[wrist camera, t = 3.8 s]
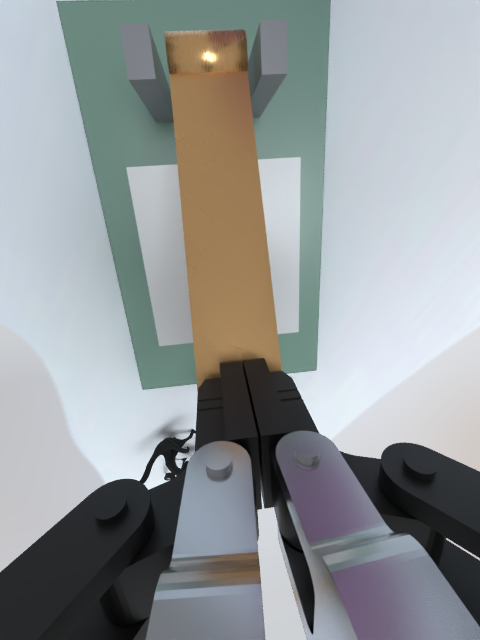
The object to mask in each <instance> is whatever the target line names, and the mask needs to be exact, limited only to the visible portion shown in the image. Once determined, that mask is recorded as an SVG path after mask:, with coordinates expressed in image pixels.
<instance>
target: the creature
mask: <svg viewBox="0 0 480 640" xmlns="http://www.w3.org/2000/svg"><path fill="white" fill-rule="evenodd" d="M193 433H196V431H195V430H192V431H191V433H190V436H189V437H188V438H186V439H184V440H180V439H176V438H175V437H174V438H165V439H164V440H163V441H162V442H160V443H159V444H158V445H157V447H156V449H155V451H154V453H153V455H152V457H151V459H150V461H149V462H148V464H147V466H146V470H145V472H144V475H143V477H142V479H141V480H140V481H139V482H141V483H142V484H144V483H145V481H146V480H147V478H148V477H149V474H150V471H151V468H152V465H153V463H154V461H155V460H156V458H157V457H158V456H159V455H163V456H164V458H165V461H166V466H167V467H168V469H169V470H170V471H171V472H172V473H166V475H165V477H164V479H165V480H172V479H174V478H175V475H176V476H178V475H180V474H181V473H182V472H183V471H184V470H185V469H186V468H187V465H188V462H189V461H186V462H185V460H186V459H187V458H185V459H181V460H183V465H182V468H181V469H180V468H178V467H177V465H176V463H175V457H176V455H177V453H178V452H181V453H187V452H189V448H188V447H187V449H183V448H182V446H183V445H184V444H185V442H186V441H187V440H189V439H191V438H192V436H193ZM178 460H180V459H178ZM184 462H185V463H184ZM167 478H170V479H167Z"/></svg>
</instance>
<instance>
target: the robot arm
mask: <svg viewBox="0 0 480 640" xmlns="http://www.w3.org/2000/svg"><path fill="white" fill-rule="evenodd" d="M220 374H221V378H213V379H205V380H204V381H203V383H202V384H201V386H200V387H199V389H198V400H197V401H198V403H197V421H196V442H195V453H194V454H193V455H192V457H191V458H190V460H189V462H188V465H187V468H186V469H185V470H184V471H183V472H182V473H181V474H180V475H178V476H177V477H175V478H174V479H172V480H170V481H168V482H166V483H164V484H161V485H159V486H157V487H154V488H152V489H150V490H148V489H147V488H146V486H145V485H144V484H142V483H141V482H139V481H137V480H133V479H120V480H115V481H112V482H110V483H107V484H105V485H103V486H101V487H100V488H98V489H97V490H95V491H94V492H93V493H91V494H90V495H89V496H88V497H87V498H86V499H84V500H83V501H82V502H81V503H80V504H79V505H77V507H75V508H74V509H73V510H72V511H71V512H69V513H68V514H67V515H66V516H65V517H64V518H63V519H61V520H60V521H59V522H58V523H57V524H56V525H54V526H53V527H52V528H51V529H50V530H49V531H47V532H46V533H45V534H44V535H43V536H42V537H41V538H39V539H38V540H37V541H36V542H35V543H34V544H32V545H31V546H30V547H29V548H28V549H27V550H26V551H24V552H23V553H22V554H21V555H20V556H19V557H18V558H16V559H15V560H14V561H13V562H12V563H11V564H9V565H8V566H7V567H6V568H5V569H4V570H2V571H1V572H0V640H265V629H264V617H263V605H262V591H261V578H260V566H259V556H258V544H257V541H258V536H259V529H258V514H257V510H258V509H262V502H261V492H262V498H263V503H264V508H271V507H274V509H275V513H276V518H277V522H278V539H279V544H280V547H281V551H282V554H283V558H284V561H285V565H286V568H287V572H288V575H289V579H290V582H291V586H292V589H293V593H294V596H295V599H296V603H297V606H298V610H299V614H300V617H301V620H302V624H303V627H304V631H305V634H306V638H307V640H480V561H479V560H478V559H476V558H474V557H473V556H471V555H470V554H468V553H467V552H465V551H463V550H461V549H460V548H459V547H457V546H455V545H454V544H452V543H451V542H449V541H447V540H446V538H448V539H450V540H451V541H453V542H454V543H456V544H458V545H459V546H461V547H463V548H464V549H466V550H468V551H469V552H471V553H472V554H474V555H476V556H477V557H479V558H480V472H479V471H477V470H475V469H473V468H470V467H468V466H466V465H464V464H462V463H459V462H457V461H455V460H453V459H451V458H449V457H446V456H444V455H442V454H440V453H438V452H435V451H433V450H431V449H429V448H426V447H424V446H421V445H417V444H413V443H396V444H393V445H390V446H388V447H387V448H386V449H385V450H384V451H383V453H382V456H381V459H376V458H368V457H360V456H354V455H350V454H346V453H343V452H341V451H339V450H338V448H337V447H336V446H335V444H334V443H333V442H332V441H331V440H330V439H328V438H327V437H325V436H323V435H321V434H319V432H318V430H317V428H316V426H315V424H314V422H313V420H312V418H311V416H310V414H309V412H308V410H307V408H306V406H305V404H304V402H303V399H301V395H300V393H299V391H297V387H296V385H295V383H294V381H293V379H292V378H291V377H290V376H288V375H287V374H286V373H284V372H283V371H274V372H270V371H269V369H268V366H267V363H266V361H265V358H257V359H248V360H243V367H242V362H241V360H239V361H230V362H221V363H220Z"/></svg>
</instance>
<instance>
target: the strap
mask: <svg viewBox="0 0 480 640" xmlns="http://www.w3.org/2000/svg"><path fill="white" fill-rule="evenodd" d="M164 34H165V46H166V54H167V62H168V69H169V76H170V87H171V98H172V109H173V120H174V132H175V143H176V154H177V165H178V176H179V188H180V199H181V210H182V221H183V232H184V244H185V255H186V266H187V277H188V288H189V300H190V311H191V322H192V333H193V344H194V356H195V367H196V378H197V389H199V387H200V386H201V384H202V383H203V381H204V380H205V379H213V378H221V374H220V363H221V362H230V361H239V360H241V362H242V367H243V360H248V359H257V358H265V361H266V363H267V366H268V369H269V371H270V372H274V371H282V366H281V357H280V349H279V340H278V331H277V323H276V314H275V305H274V297H273V288H272V279H271V271H270V262H269V253H268V245H267V236H266V227H265V219H264V210H263V201H262V193H261V184H260V175H259V167H258V158H257V149H256V141H255V132H254V123H253V115H252V106H251V97H250V89H249V80H248V54H247V38H246V31H245V29H232V30H196V31H165V33H164Z"/></svg>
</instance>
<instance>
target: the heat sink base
mask: <svg viewBox="0 0 480 640" xmlns="http://www.w3.org/2000/svg"><path fill="white" fill-rule="evenodd" d="M56 2H57V7H58V11H59V16H60V20H61V25H62V29H63V34H64V38H65V43H66V47H67V52H68V56H69V61H70V65H71V70H72V74H73V79H74V83H75V88H76V92H77V97H78V101H79V106H80V110H81V115H82V119H83V124H84V128H85V133H86V137H87V142H88V146H89V151H90V155H91V160H92V164H93V169H94V173H95V178H96V182H97V187H98V191H99V196H100V200H101V205H102V209H103V214H104V218H105V223H106V227H107V232H108V236H109V241H110V245H111V250H112V254H113V259H114V263H115V268H116V272H117V277H118V281H119V286H120V290H121V295H122V299H123V304H124V308H125V313H126V317H127V322H128V326H129V331H130V335H131V340H132V344H133V349H134V353H135V358H136V362H137V367H138V371H139V376H140V380H141V385H142V389H143V390H145V389H154V388H163V387H172V386H181V385H190V384H197V378H196V367H195V356H194V344H193V333H192V322H191V311H190V300H189V288H188V277H187V266H186V255H185V244H184V232H183V221H182V210H181V199H180V188H179V176H178V165H177V154H176V143H175V132H174V120H173V109H172V98H171V87H170V76H169V69H168V62H167V54H166V46H165V34H164V33H165V31H196V30H232V29H245V31H246V38H247V54H248V80H249V89H250V97H251V106H252V115H253V123H254V132H255V141H256V149H257V158H258V167H259V175H260V184H261V193H262V201H263V210H264V219H265V227H266V236H267V245H268V253H269V262H270V271H271V279H272V288H273V297H274V305H275V314H276V323H277V331H278V340H279V349H280V357H281V366H282V371H283V372H284V373H286V374H288V373H297V372H306V371H315V370H316V369H317V343H318V317H319V290H320V264H321V238H322V212H323V185H324V159H325V133H326V107H327V81H328V54H329V28H330V2H331V0H89V1H56Z"/></svg>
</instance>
